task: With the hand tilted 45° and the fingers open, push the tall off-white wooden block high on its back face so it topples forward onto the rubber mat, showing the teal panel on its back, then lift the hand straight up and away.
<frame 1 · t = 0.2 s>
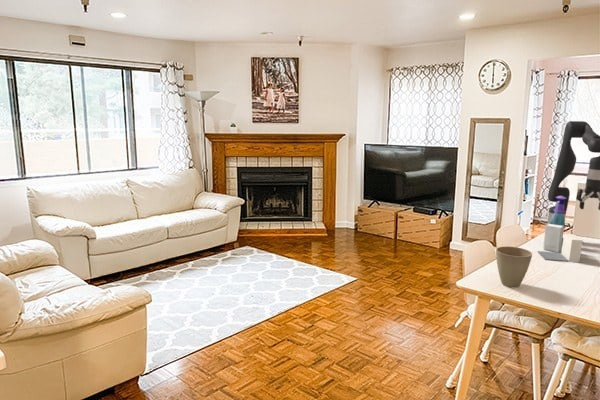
hand: (590, 209, 230), 29 cm above the table, tool pointing down, fingers open, 8 cm apart
mat: (552, 256, 245), on the table
skincare box: (551, 250, 257), on the table
block: (569, 258, 244), on the table
plant pot: (509, 284, 204), on the table
lantern: (554, 245, 268), on the table
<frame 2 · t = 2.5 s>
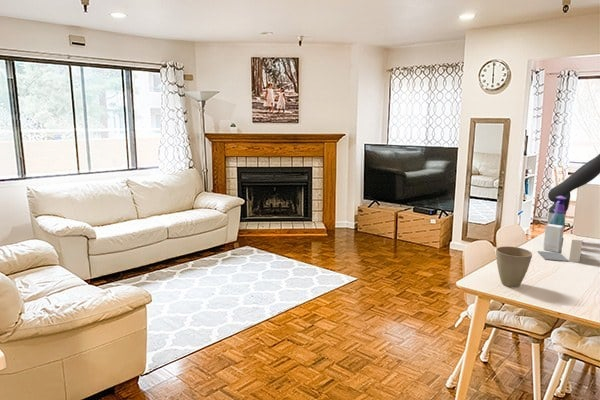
nothing on the table moved.
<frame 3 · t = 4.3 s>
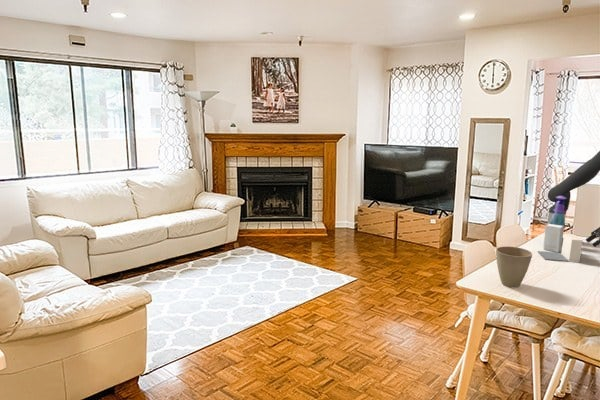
hand: (590, 243, 240), 9 cm above the table, tool tilted 45°, fingers open, 8 cm apart
nothing on the table moved.
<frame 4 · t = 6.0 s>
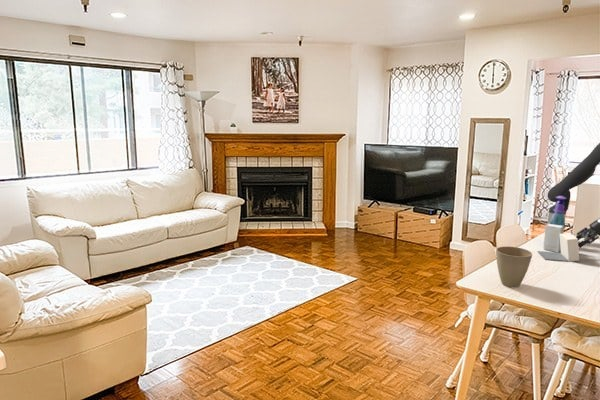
hand: (575, 244, 242), 8 cm above the table, tool tilted 45°, fingers open, 8 cm apart
block: (569, 257, 244), on the table, tilted 11°
everything else where it was.
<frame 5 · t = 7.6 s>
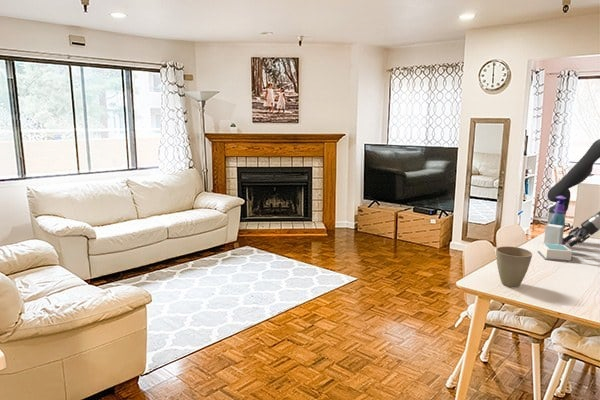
hand: (566, 243, 243), 8 cm above the table, tool tilted 45°, fingers open, 8 cm apart
block: (567, 252, 243), point 3 cm above the table, tilted 90°, touching mat
everything else where it was.
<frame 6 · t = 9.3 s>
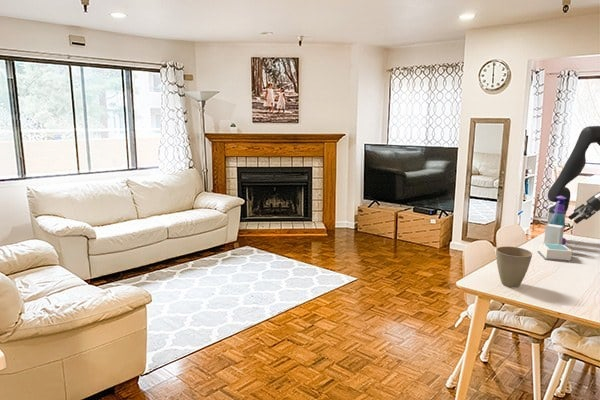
hand: (572, 220, 240), 21 cm above the table, tool tilted 45°, fingers open, 8 cm apart
nothing on the table moved.
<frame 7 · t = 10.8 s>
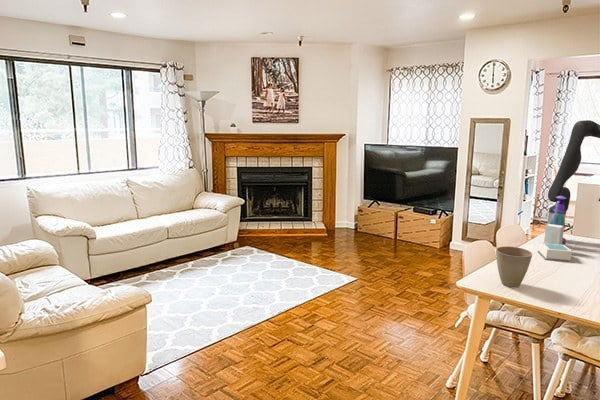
nothing on the table moved.
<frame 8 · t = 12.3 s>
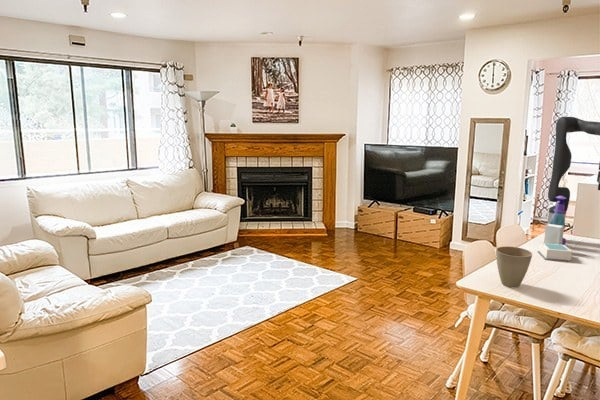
nothing on the table moved.
at the end: block tilted 90°; block inside the target area (2.6 cm from its centre), point 3.1 cm above the table; block touching mat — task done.
